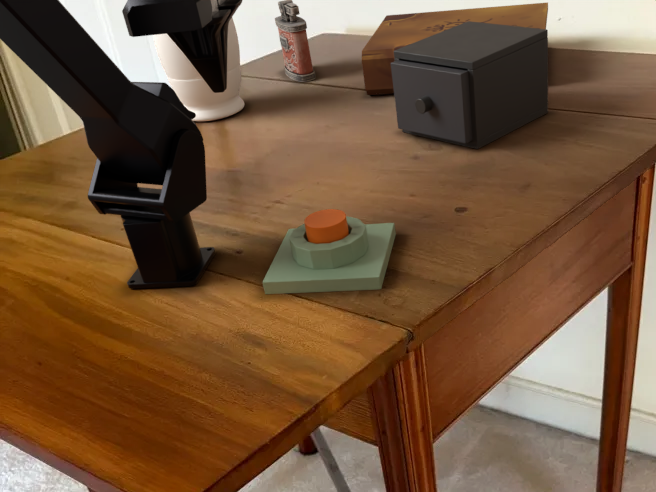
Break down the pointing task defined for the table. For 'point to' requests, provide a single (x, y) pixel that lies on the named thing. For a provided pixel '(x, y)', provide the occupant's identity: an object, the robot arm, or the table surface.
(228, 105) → the jar
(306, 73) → the lighter
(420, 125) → the dark grey drawer
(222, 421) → the table surface
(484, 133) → the grey drawer box
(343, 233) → the button
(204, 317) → the table surface
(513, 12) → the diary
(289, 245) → the panel
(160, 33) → the robot arm
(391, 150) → the table surface
